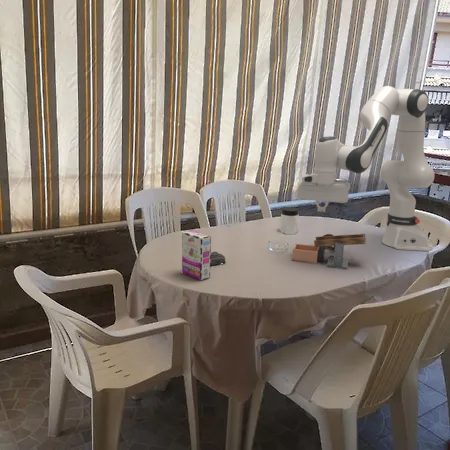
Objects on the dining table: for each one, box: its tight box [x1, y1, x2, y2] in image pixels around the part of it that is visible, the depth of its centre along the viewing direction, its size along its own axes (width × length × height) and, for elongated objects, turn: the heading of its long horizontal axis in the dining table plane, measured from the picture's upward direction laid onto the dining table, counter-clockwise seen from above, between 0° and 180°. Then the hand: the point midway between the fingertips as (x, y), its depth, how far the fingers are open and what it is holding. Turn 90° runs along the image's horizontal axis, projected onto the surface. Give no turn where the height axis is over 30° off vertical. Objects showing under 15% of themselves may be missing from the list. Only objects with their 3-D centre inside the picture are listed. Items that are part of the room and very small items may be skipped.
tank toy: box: [210, 251, 227, 266], centre depth 188 cm, size 12×10×5 cm
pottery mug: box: [321, 233, 335, 249], centre depth 209 cm, size 12×10×8 cm
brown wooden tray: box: [313, 233, 367, 247], centre depth 190 cm, size 20×9×3 cm, turn 73°
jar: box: [279, 206, 300, 235], centre depth 233 cm, size 9×8×12 cm
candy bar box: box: [181, 229, 212, 281], centre depth 173 cm, size 11×5×16 cm, turn 45°
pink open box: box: [291, 243, 319, 264], centre depth 195 cm, size 10×8×5 cm
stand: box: [317, 243, 350, 270], centre depth 191 cm, size 12×13×10 cm
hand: (321, 211), depth 189 cm, fingers closed
